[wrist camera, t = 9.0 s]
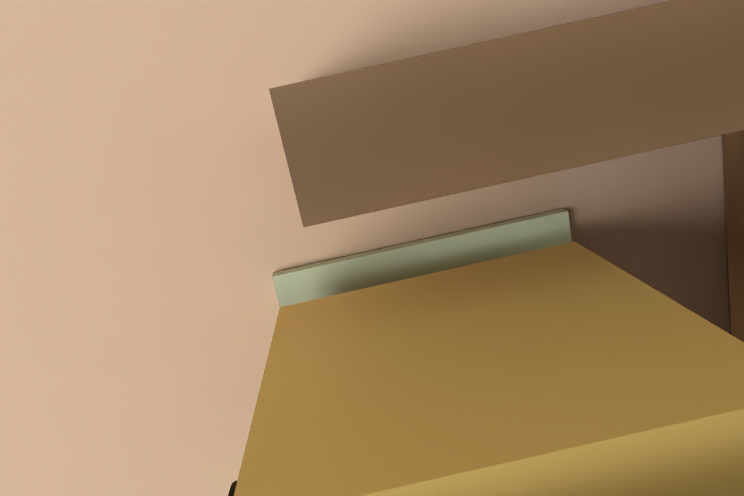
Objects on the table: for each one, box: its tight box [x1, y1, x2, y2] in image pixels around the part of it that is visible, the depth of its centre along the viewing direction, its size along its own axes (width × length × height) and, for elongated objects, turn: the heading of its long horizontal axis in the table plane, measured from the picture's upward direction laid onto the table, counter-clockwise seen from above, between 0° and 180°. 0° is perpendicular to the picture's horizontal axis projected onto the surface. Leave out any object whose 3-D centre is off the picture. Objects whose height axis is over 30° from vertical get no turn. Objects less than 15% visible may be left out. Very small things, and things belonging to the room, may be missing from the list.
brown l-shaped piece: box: [269, 0, 744, 342], centre depth 12 cm, size 18×12×4 cm
